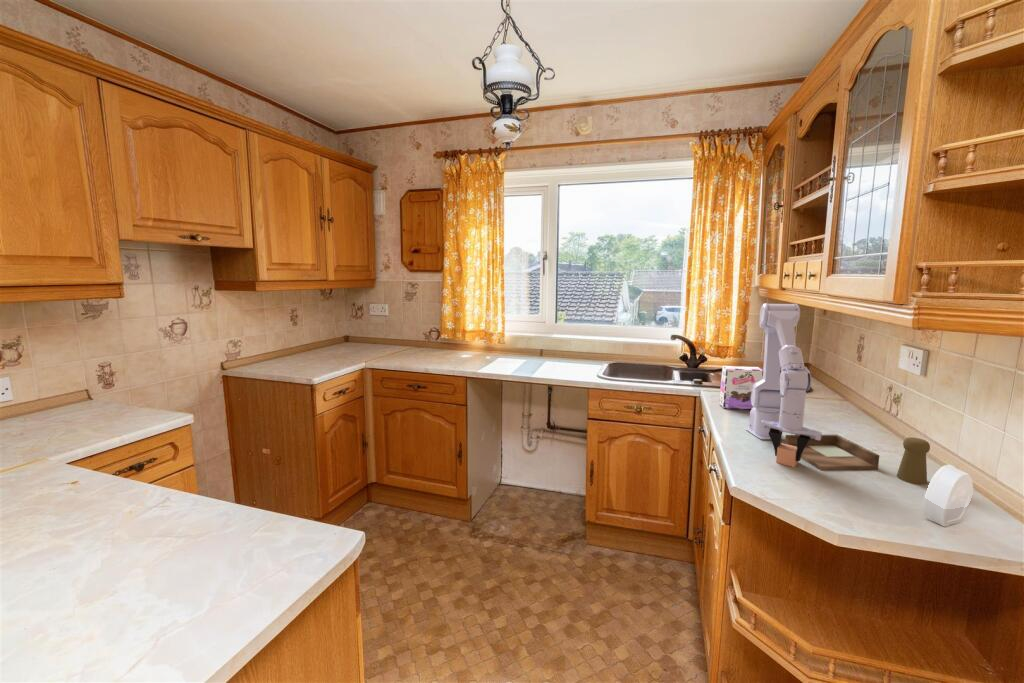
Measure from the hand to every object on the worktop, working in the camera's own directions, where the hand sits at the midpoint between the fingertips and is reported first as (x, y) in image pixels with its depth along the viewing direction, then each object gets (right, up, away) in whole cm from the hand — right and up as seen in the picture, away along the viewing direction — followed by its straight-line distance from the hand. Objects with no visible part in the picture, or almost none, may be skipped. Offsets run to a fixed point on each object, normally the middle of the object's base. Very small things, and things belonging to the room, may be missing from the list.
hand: (787, 457), depth 128 cm
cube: (0, -1, 0) cm, 1 cm away
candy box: (+12, +6, +52) cm, 54 cm away
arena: (+14, -1, +3) cm, 14 cm away
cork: (+26, -3, -10) cm, 28 cm away
